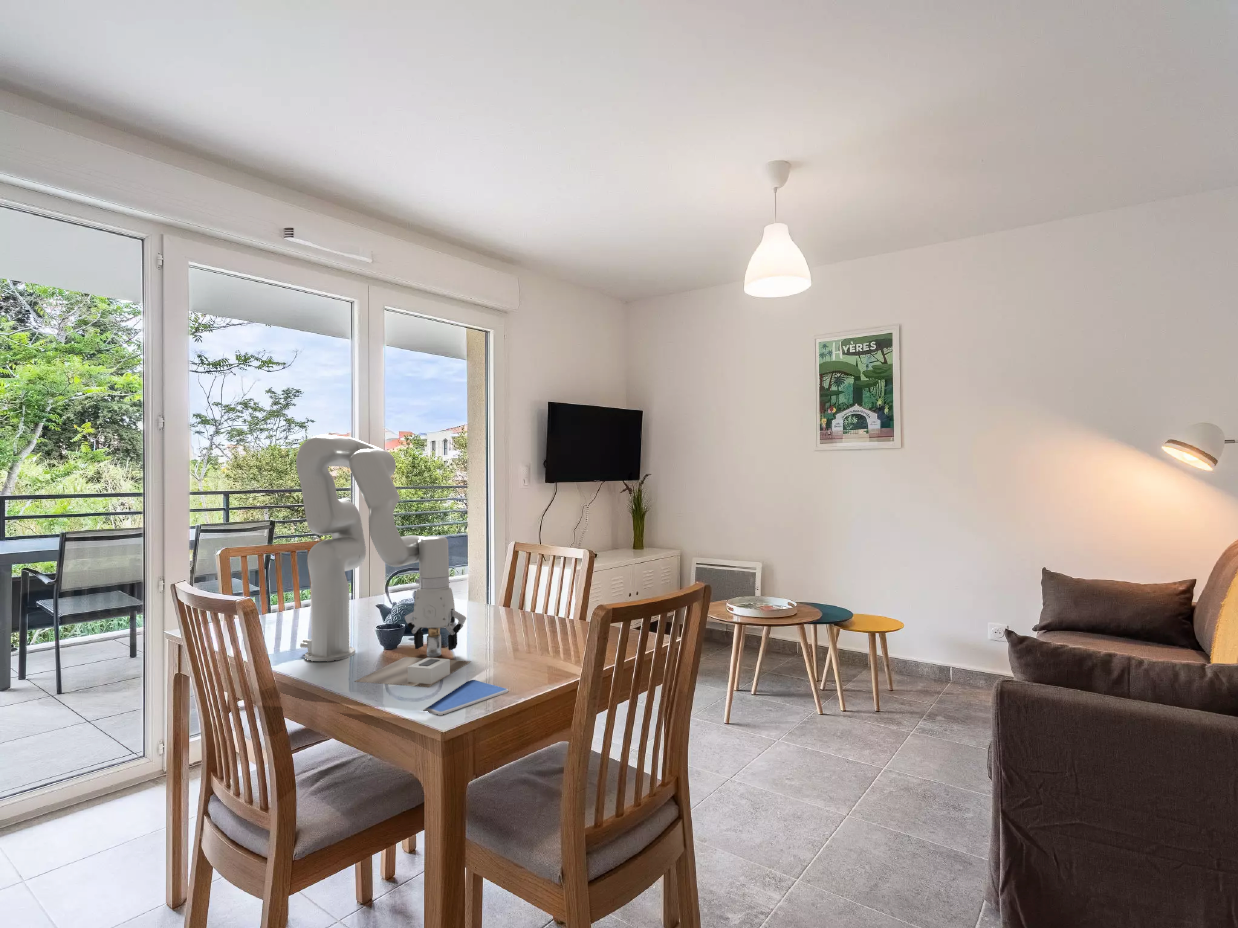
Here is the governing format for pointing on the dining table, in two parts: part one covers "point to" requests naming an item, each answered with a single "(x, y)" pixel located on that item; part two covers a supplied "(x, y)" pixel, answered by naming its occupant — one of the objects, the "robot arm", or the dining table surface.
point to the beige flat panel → (403, 672)
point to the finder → (428, 670)
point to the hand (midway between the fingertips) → (435, 648)
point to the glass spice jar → (433, 642)
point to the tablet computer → (465, 697)
